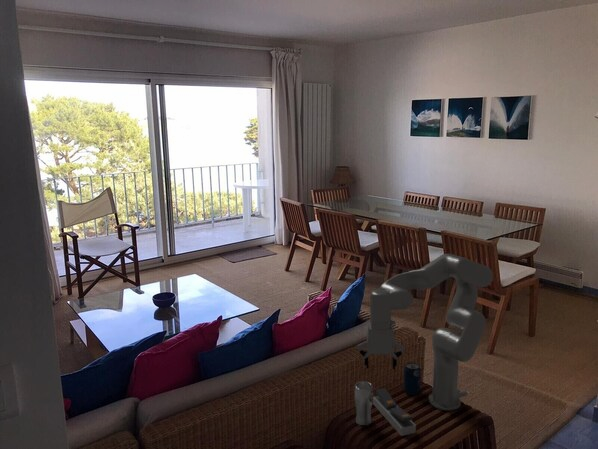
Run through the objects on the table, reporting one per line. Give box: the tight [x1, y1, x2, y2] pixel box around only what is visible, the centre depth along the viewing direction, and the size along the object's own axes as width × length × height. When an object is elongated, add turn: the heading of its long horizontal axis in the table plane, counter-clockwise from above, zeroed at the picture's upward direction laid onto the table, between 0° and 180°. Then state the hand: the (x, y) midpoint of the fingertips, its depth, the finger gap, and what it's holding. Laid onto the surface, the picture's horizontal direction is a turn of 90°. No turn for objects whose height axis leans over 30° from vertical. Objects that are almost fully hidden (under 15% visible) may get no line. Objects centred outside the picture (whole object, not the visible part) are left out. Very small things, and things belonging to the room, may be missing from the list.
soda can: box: [403, 362, 422, 396], centre depth 205 cm, size 7×7×12 cm
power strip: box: [372, 395, 417, 437], centre depth 187 cm, size 23×6×3 cm, turn 18°
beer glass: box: [354, 380, 374, 426], centre depth 184 cm, size 7×7×15 cm
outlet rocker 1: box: [375, 387, 398, 409], centre depth 192 cm, size 4×10×1 cm, turn 18°
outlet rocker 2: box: [390, 406, 414, 422], centre depth 181 cm, size 4×10×1 cm, turn 18°
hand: (380, 367), depth 178 cm, fingers open, 9 cm apart
